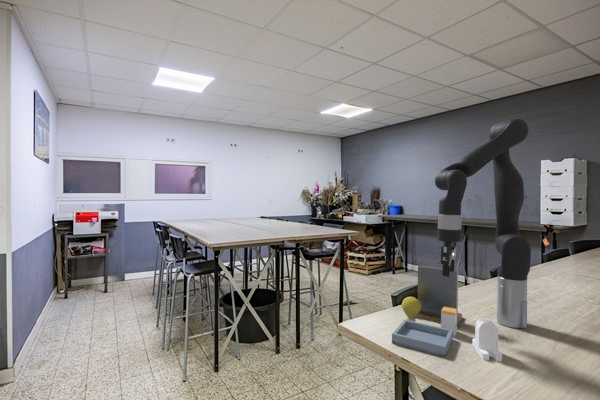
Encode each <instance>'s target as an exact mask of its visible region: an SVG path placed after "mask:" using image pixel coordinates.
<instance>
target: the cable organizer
mask: <svg viewBox="0 0 600 400" xmlns="http://www.w3.org/2000/svg"><path fill="white" fill-rule="evenodd" d="M474 328H475V331H474V338H472V341H471V342H472V347H473V348H474V349H475V351H476V352H477V353H478V355H479V357H480V358H481V359H482V360H483V361H490V357H492V358H493V359H494V360H495V361H496V362H501V361H502V362H503V354H502V353H501V351H500V350H499V329H498V326H497V325H496V324H495V323H494V322H493V321H492V320H491V319H489V318H487V317H481V318H478V319H477V321H476V322H475V325H474Z"/></svg>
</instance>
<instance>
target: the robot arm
mask: <svg viewBox="0 0 600 400" xmlns="http://www.w3.org/2000/svg"><path fill="white" fill-rule="evenodd" d="M529 131H530V130H529V125H528V123H527V122H526V121H525V120H524V119H522V118H511V119H506V120H502V121H500V122H496V123H494V124H493V125H492V126H491V128H490V130H489V141H487V142H484V143H483V144H482V145H479V146H477V147H475V148H474V149H472V150H471V151H469V152H468V153H466V154H465V155H463V157H461V158H460V159H459V160H458V161H455V162H454V163H452V164H450V165H447V166H446V167H445V168H443V169H441V170H440V171H439V172H438V173H437V174H436V176H435V178H434V184H435V186H436V188H437V189H438V190H441V191H447V193H446V196H445V197H442V198H440V199H439V202H438V219H437V241H439V242H443V245H441V247H440V264H441V265H442V268H443V270H442V275H443V276H445V277H449V276H450V272H454V269H455V261H456V258H457V245H458V244H457V243H460V242H461V241H462V227H463V226H462V222H463V221H462V202H463V199H464V197H465V192H466V189H467V185H468V179H467V178H470V177H472V176H474V175H475V174H476V173H477V172H479V171H480V170H481V169H482V168H484V167H485V166H486V165H487V164H489V163H490V162H491V161H492V165H493V166H492V167H493V181H494V182H493V184H494V185H493V186H494V191H493V192H494V202H495V216H496V225H495V226H496V227H495V228H496V229H495V239H494V240H495V242H494V243H495V245H494V246H495V249H496V251H497V253H499V255H501V264H500V266H499V268H497V287H496V288H497V290H496V291H497V294H496V296H497V297H496V299H497V300H496V301H497V304H496V306H497V307H496V310H497V311H496V321H497V323H499V324H500V325H503V326H505V327H509V328H513V329H528V275H529V274H530V270H531V259H532V258H531V257H532V251H531V250H532V249H531V245H530V241H528V240H527V238H525V237H523V236H521V235H520V230H519V229H520V227H519V218H520V215H521V214H520V213H521V211H522V208H523V205H524V200H525V188H524V187H525V186H524V185H525V183H524V180H523V177H522V175H521V173H520V172H519V171H518V169H517V168H516V166H515V165H514V163H513V161H512V160H511V155H510V149H512V148H513V147H515V146H517V145H519V144H520V143H522V142H524V141H525V140H526V139H527V137H528V136H529Z"/></svg>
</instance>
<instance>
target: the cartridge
mask: <svg viewBox="0 0 600 400" xmlns="http://www.w3.org/2000/svg"><path fill="white" fill-rule="evenodd" d="M440 328H445V329H450V330H453V337H455V336H456V335H457V332H458V326H457V309H454V308H449V307H443V308H442V310H441V323H440Z"/></svg>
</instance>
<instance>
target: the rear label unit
mask: <svg viewBox="0 0 600 400" xmlns="http://www.w3.org/2000/svg"><path fill="white" fill-rule="evenodd" d="M442 270H443V267H437V266H429V265H428V266H427V265H421V264H420V265H418V266H417V300H418V301H419V302H420V305H421V308H420V311H419V313H418V314H417V315H416V317H415V319H416V318H417V319H421V320H426V321H431V322H434V323H438V324H439V323H440V324H441V310H442V308H443V307H449V308H454V309H457V327H459V326H460V324H461V322H462V319H463V313H461V312H460V313H459V310H458V309H459V305H458V304H459V269H455V268H454V272H450V276H449V277H445V276H443V275H442Z"/></svg>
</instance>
